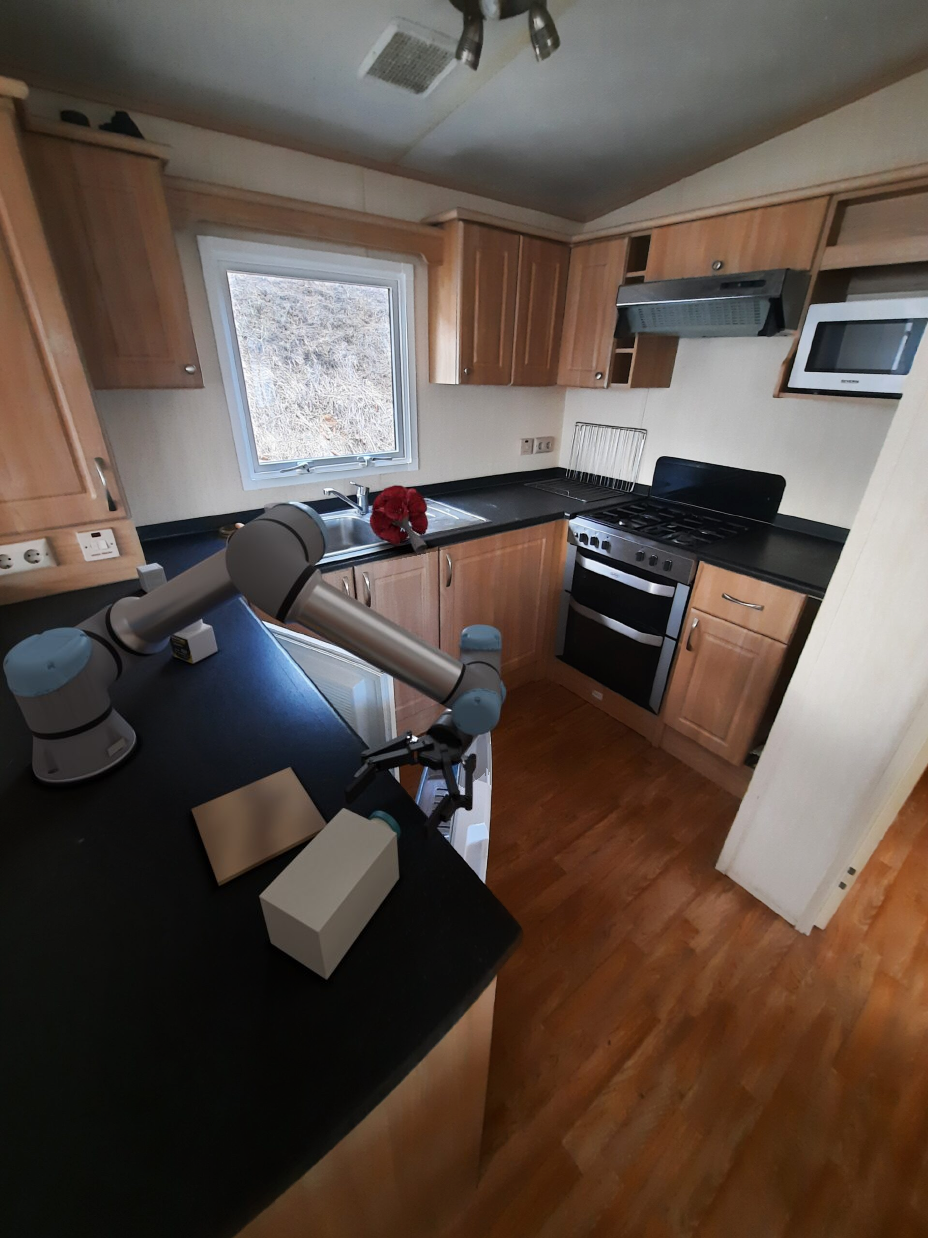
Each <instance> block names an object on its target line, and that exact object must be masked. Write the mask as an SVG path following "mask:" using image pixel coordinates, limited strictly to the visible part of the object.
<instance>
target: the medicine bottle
mask: <svg viewBox="0 0 928 1238" xmlns="http://www.w3.org/2000/svg"><path fill="white" fill-rule="evenodd" d="M169 643H170V646H171V650H172V653H173V656H174V657H175V658H177V659H180V660H183V661H185V662H187V663H191V664H195V663H197V662H199V661H202V660H203V659H205V658H207V657H209V656H211V655H213V654H215V653H216V652H218V650H219V649H218V645H217V642H216V637H215V633H214V629H213V626H212V625H210V624H206V623H204V621H203V619H201V620H199V621H197V622H195V623H193V624H192V625H190V626H188V627H186V628H184V629H183V630H181V631H179V632H177V633H175V634H173V635H172V636H170V640H169Z"/></svg>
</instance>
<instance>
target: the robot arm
mask: <svg viewBox="0 0 928 1238" xmlns="http://www.w3.org/2000/svg"><path fill="white" fill-rule="evenodd" d="M278 503H279V502H278ZM329 545H330V533H329V529H328V527H327V524H326V523H325V521H324V519H323V517H321V515H320V514H319V513H318V512H317V511H316V509H314V508H312V507H311V506H309V505H308V504H304V503H303V502H302V503H301V502H299V501H284V502H282V503H279V504H277V505H275V506H273V507H272V508H271V509H270V510H269V511H267V512H266V513H265V512H264V513H262V514H261V515H259V516H257V517H255V518H254V519H252V520H251V521H248V522H247V523H246V524H244V525H242V526H240V527H239V528H237V529H236V530H233V531H232V532H231V533H230V534H228V536H227V539H226V543H225V547H224V548H222V549H220V550H219V551H217V552H215V553H214V554H212V555H210V556H209V557H207V558H205V559H203V560H202V561H200V562H198V563H197V564H195V565H193V566H191V567H190V568H188V569H186V570H184V571H183V572H182V573H180V574H178V575H176V576H175V577H173V578H171V579H170V580H168V581H167V582H166V583H165V584H163V585H161V586H160V587H158V588H156V589H155V590H153V591H151V592H149V593H146V594H144V595H142V596H141V597H137V596H127V597H122V598H120V599H119V600H117V601H115V602H113V603H111V604H109V605H106V606H105V607H103V608H101V609H100V610H99V611H98V612H97V613H95V614H93V615H92V616H90V617H88V618H87V619H85V620H84V621H82V622H80V623H79V624H77V625H75V626H74V627H57V628H53V629H48V630H44V631H43V632H42V633H40V634H33V635H31V636H29V637H27V638H25V639H23V640H21V641H20V642H19V643H17V644H16V645H14V646H13V647H12V648H11V649H10V650H9V651H8V652H7V654H6V655H5V657H4V659H3V663H2V666H3V667H2V668H3V673H4V675H5V678H6V683H7V686H8V688H9V690H10V691H11V693H12V695H13V696H14V699H15V700H16V702H17V704H18V706H19V708H20V710H21V713H22V715H23V718H24V719H25V722H26V725H27V726H28V728H29V730H30V732H31V733H30V734H31V735H32V757H31V759H30V760H29V761H28V762H27V763H26V764H25V767H26V768H30V767H31V766H32V771H33V773H34V775H35V777H36V779H37V781H38V782H40V783H41V784H43V785H45V786H48V787H56V788H57V787H58V788H63V787H72V786H77V785H82V784H86V783H88V782H92V781H94V780H97V779H99V778H101V777H103V776H106V775H107V774H110V773H111V772H113V771H115V770H116V769H118V768H119V767H121V766H123V764H124V763H126V762H127V761H128V760H129V759H130V758H131V757H132V755H133V754H134V753H135V751H136V749H137V746H138V738H137V736H136V732H135V730H134V729H133V727H132V726H131V725H130V724H129V723H128V722H127V721H126V720H125V718H123V717H122V716H121V715H120V713H118V712H117V710H116V709H115V708H114V706H113V704H112V701H111V697H110V695H109V692H108V688H109V687H111V686H112V685H113V684H115V682H117V681H118V680H119V679H120V678H121V677H122V676H124V675H125V674H126V673H127V672H129V671H130V670H132V669H133V668H134V667H135V666H137V665H138V664H140V663H141V662H143V661H145V660H147V659H149V658H150V657H152V656H154V655H156V654H157V653H160V652H162V651H163V650H164V649H165V648H166V647H167V646H168V644H169V643H170V636H172V635H173V634H175V633H177V632H179V631H181V630H183V629H184V628H186V627H188V626H190V625H192V624H193V623H195V622H197V621H199V620H201V619H202V620H203V619H205V618H206V617H208V616H210V615H211V614H214V613H215V612H217V611H218V610H221V609H223V608H225V607H226V606H228V605H229V604H232V603H234V602H235V601H237V600H239V599H241V598H242V597H244V598H245V599H246V600H247V601H248V602H249V603H251V605H253V606H254V607H256V608H257V609H258V610H260V611H261V612H263V613H264V614H266V615H268V616H269V617H270V618H272V619H274V620H275V621H278V622H280V623H282V624H283V625H285V626H288V625H292V624H296V625H299V626H301V627H303V628H304V629H307V630H308V631H310V632H311V633H314V634H315V635H317V636H319V637H320V638H322V639H324V640H325V641H327V642H329V643H331V644H332V645H335V646H336V647H338V648H339V649H342V650H343V651H346V652H347V653H349V654H351V655H352V656H354V657H356V658H358V659H359V660H361V661H363V662H365V663H367V664H369V665H370V666H371V667H374V668H375V669H377V670H379V671H381V672H382V673H384V674H387V675H388V676H390V677H392V678H393V679H394V680H397V681H399V682H400V683H402V684H404V685H406V686H407V687H409V688H411V689H412V690H415V691H416V692H418V693H419V694H422V695H423V696H425V697H427V698H428V699H431V700H433V701H434V702H436V703H437V704H439V705H441V706H442V707H444V708H446V709H445V710H444V711H443V712H442V713H440V715H439V717H437V718H436V720H435V721H433V723H432V724H431V725H430V726H429V727H428V729H427V730H426V732H425V734H424V735H422V736H420V737H417V736H415V735H413V731H412V730H410V729H406V730H405V731H404V732H403V733H401V734H400V735H398V736H396V737H394V738H391V739H390V740H386V741H384V742H382V743H379V744H378V745H375V746H373V747H370V748H369V749H366V750H363V751H362V752H361V753H360V761H361V767H360V769H359V770H358V771H356V772H355V774H354V775H353V779H354V780H353V781H352V782H350V784H349V785H348V786H347V787H346V788H345V789H344V798H345V804H346V805H349V806H351V805H352V804H353V803H354V802H355V801H356V800H357V799H358V798H359V797H360V796H361V794H363V792H364V791H365V790H366V789H367V788H368V787H369V786H370V785H371V784H372V783H373V782H374V780H376V779H377V773H382V772H385V771H389V770H393V769H397V768H400V767H403V766H407V765H409V766H416V765H419V766H421V767H425V768H429V769H430V770H432V771H434V772H437V771H441V773H442V777H443V779H444V782H445V786H446V789H447V793H445V794H444V796H443V797H442V799H441V800H440V801H439V803H438V804H437V805H436V807H435V808H434V810H433V811H432V812H431V813H430V814H429V816H428V818H427V819H426V820H425V822H424V823H423V824H422V834H423V835H422V836H423V837H422V838H423V840H425V841H427V842H428V841H429V840H430V839H431V838H432V836H433V835H434V834H435V832H436V830H437V828H438V827H439V826H440V825H441V823H445V824H447V823H449V822H450V821H451V818H452V817H453V816H454V815H455V813H456V812H457V810H459V809H464V810H465V811H467V812H471V811H472V810H473V808H474V807H473V806H474V773H475V771H476V769H477V754H476V753H474V752H471V753H470V754H469V755H467V754H466V753H467V751H468V750H469V749H470V748H471V746H472V745H473V743H474V742H475V741H476V739H477V738H478V736H481V735H485V734H487V733H489V732H492V730H494V729H495V728H496V726H497V725H498V723H499V721H500V716H501V711H502V710H501V709H502V706H503V703H504V702H505V700H506V697H507V688H506V687H505V685H504V682H503V680H502V679H501V678H502V677H501V676H502V649H503V645H502V634H501V632H500V630H499V629H498V628H496V627H494V626H491V625H486V624H473V625H469V626H467V627H465V628H464V629H463V630H461V632H460V638H459V639H460V640H459V642H460V643H459V645H458V648H459V659H457V658H455V657H453V656H452V655H451V654H449V653H447V652H445V651H444V650H442V649H441V648H438V647H437V646H435V645H433V644H432V643H430V642H428V641H427V640H425V639H423V638H422V637H420V636H419V635H416V634H415V633H413V632H412V631H410V630H408V629H407V628H405V627H404V626H401V625H400V624H398V623H396V622H395V621H393V620H391V619H390V618H388V617H386V616H385V615H383V614H381V613H379V612H378V611H376V610H375V609H373V608H372V607H369V606H368V605H366V604H365V603H363V602H361V601H359V600H358V599H356V598H355V597H353V596H351V595H350V594H348V593H346V592H345V591H342V590H341V589H339V588H338V587H336V586H334V585H333V584H331V583H330V582H327V581H326V580H324V578H323V576H322V575H323V574H322V572H321V569H319V568H317V567H316V565H317V564H319V563H320V562H321V560H323V559H324V557H325V556H326V555H325V554H326V553H327V550H328V548H329ZM415 752H416V756H415ZM459 764H461V768H462V769H463V770H464V794H461V790H460V789H459V786H458V782H457V778H456V776H455V772H454V768H453V767H454V766H457V765H459Z"/></svg>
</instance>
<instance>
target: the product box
mask: <svg viewBox="0 0 928 1238" xmlns="http://www.w3.org/2000/svg"><path fill="white" fill-rule="evenodd" d="M135 569H136V572H137V577H138V580H139V583H140V586H141V589H142V590H143V591H144V592H145V593H146V594H148V593H149V592H151V591H153V590H155V589H156V588H158V587H160V586H161V585H163V584H165V583H166V582H168V581H167V577H166V573H165V571H164V567H163V566H161V565H160V564H158V562H154V563H150V564H144V565H140V566H136V567H135Z"/></svg>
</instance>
